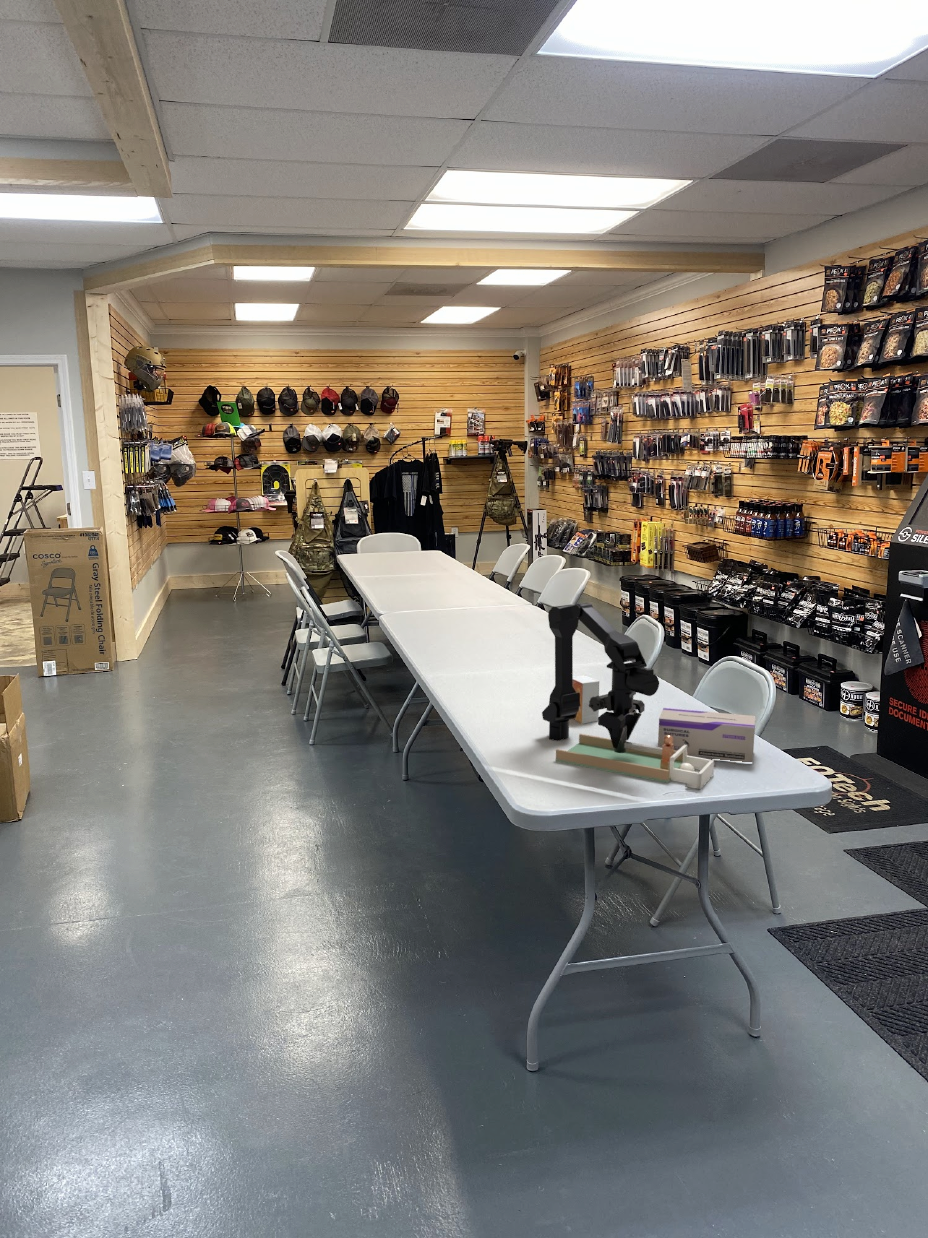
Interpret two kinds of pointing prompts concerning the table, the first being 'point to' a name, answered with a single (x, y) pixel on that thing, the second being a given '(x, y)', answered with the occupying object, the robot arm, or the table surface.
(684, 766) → the ball
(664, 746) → the rod
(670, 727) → the surgical sutures box
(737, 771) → the table surface
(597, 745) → the pitch
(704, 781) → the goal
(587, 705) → the small box
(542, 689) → the table surface
